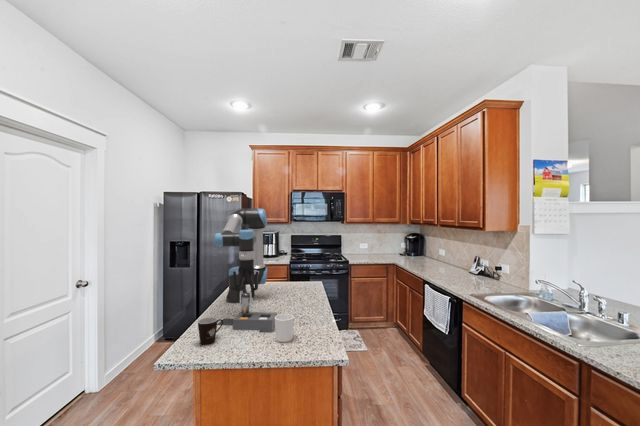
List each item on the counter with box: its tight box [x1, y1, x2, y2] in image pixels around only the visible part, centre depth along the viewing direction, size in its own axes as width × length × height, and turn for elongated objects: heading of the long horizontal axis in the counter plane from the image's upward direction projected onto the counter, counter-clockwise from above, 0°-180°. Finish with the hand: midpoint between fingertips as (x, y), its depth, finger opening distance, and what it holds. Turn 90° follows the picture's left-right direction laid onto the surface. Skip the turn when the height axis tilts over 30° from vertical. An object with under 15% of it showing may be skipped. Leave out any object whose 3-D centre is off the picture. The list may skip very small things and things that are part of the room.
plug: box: [240, 292, 250, 314], centre depth 151 cm, size 5×5×10 cm
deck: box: [217, 318, 234, 326], centre depth 157 cm, size 10×10×1 cm
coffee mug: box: [197, 316, 224, 346], centre depth 134 cm, size 12×9×10 cm
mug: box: [274, 313, 295, 344], centre depth 137 cm, size 11×9×10 cm
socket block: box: [232, 311, 278, 333], centre depth 151 cm, size 12×20×6 cm, turn 87°
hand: (246, 303), depth 151 cm, fingers closed on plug, 5 cm apart
